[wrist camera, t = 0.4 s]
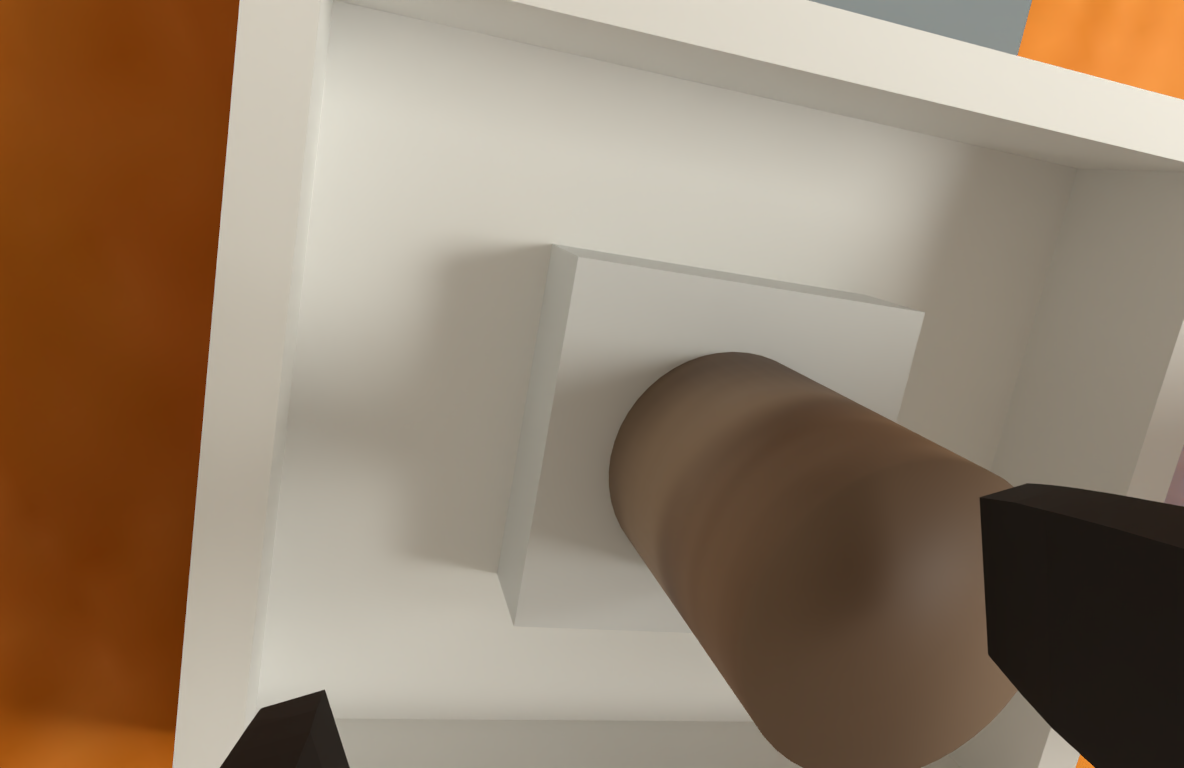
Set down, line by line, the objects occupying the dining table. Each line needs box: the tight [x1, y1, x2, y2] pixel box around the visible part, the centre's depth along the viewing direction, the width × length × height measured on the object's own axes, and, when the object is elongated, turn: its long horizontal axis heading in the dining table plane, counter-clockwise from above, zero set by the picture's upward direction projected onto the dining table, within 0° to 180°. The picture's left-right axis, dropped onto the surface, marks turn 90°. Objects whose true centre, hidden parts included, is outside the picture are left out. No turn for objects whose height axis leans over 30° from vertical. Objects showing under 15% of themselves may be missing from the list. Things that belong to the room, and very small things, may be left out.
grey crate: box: [173, 0, 1184, 768], centre depth 18 cm, size 18×16×4 cm
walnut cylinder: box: [609, 352, 1018, 768], centre depth 14 cm, size 4×4×6 cm
